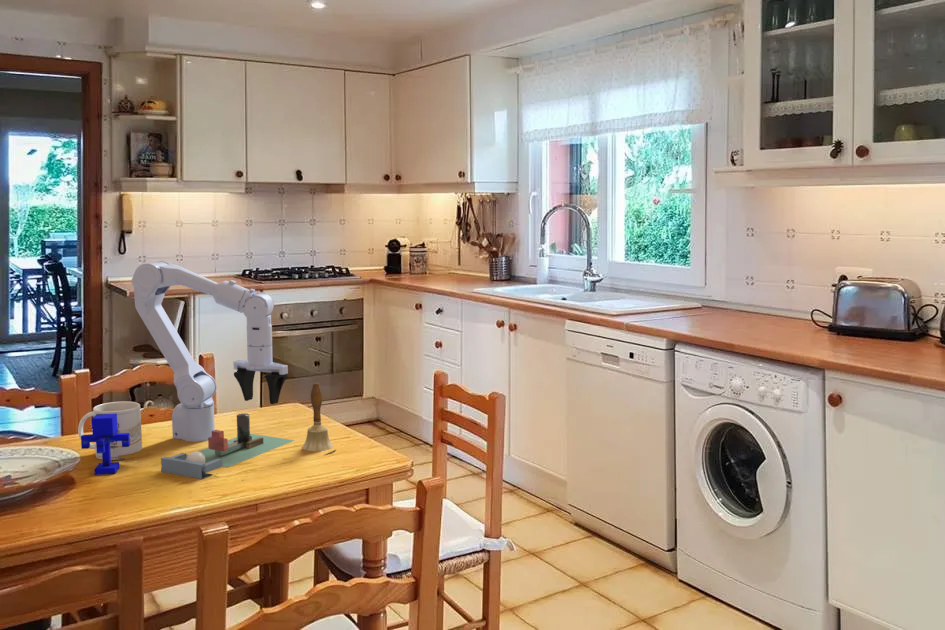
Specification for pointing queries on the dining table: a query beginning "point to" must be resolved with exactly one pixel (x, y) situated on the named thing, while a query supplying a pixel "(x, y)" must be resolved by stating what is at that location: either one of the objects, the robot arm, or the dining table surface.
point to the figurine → (105, 441)
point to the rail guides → (253, 442)
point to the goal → (188, 466)
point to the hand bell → (317, 426)
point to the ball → (196, 457)
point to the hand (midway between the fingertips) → (261, 401)
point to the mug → (119, 426)
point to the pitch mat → (245, 450)
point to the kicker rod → (221, 443)
